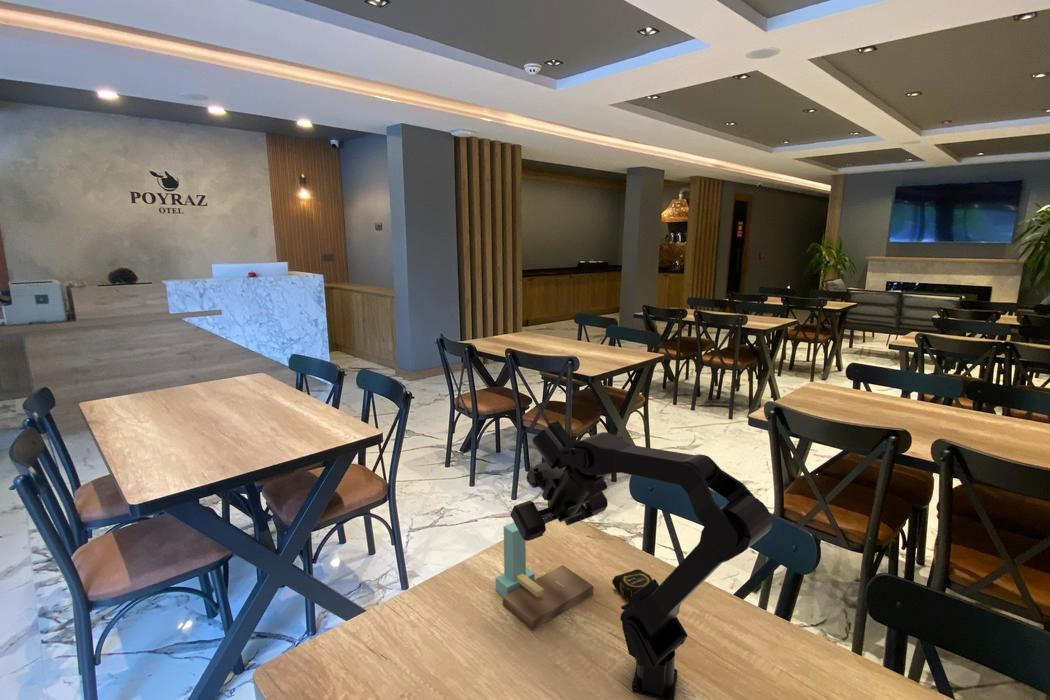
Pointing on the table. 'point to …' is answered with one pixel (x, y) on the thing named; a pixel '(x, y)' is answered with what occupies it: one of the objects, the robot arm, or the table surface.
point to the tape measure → (631, 582)
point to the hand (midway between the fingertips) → (547, 530)
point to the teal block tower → (515, 565)
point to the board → (548, 597)
